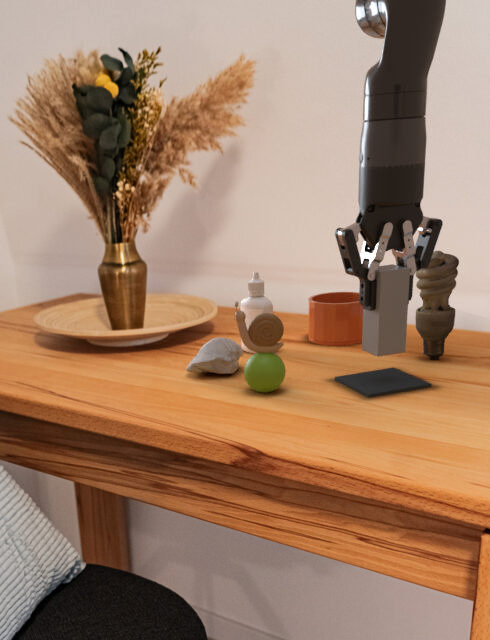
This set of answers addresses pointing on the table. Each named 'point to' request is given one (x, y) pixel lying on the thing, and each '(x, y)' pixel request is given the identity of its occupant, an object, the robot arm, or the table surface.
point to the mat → (382, 382)
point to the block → (388, 313)
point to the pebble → (217, 357)
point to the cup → (335, 318)
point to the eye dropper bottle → (255, 303)
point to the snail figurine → (262, 350)
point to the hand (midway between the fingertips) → (385, 306)
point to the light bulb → (436, 302)
